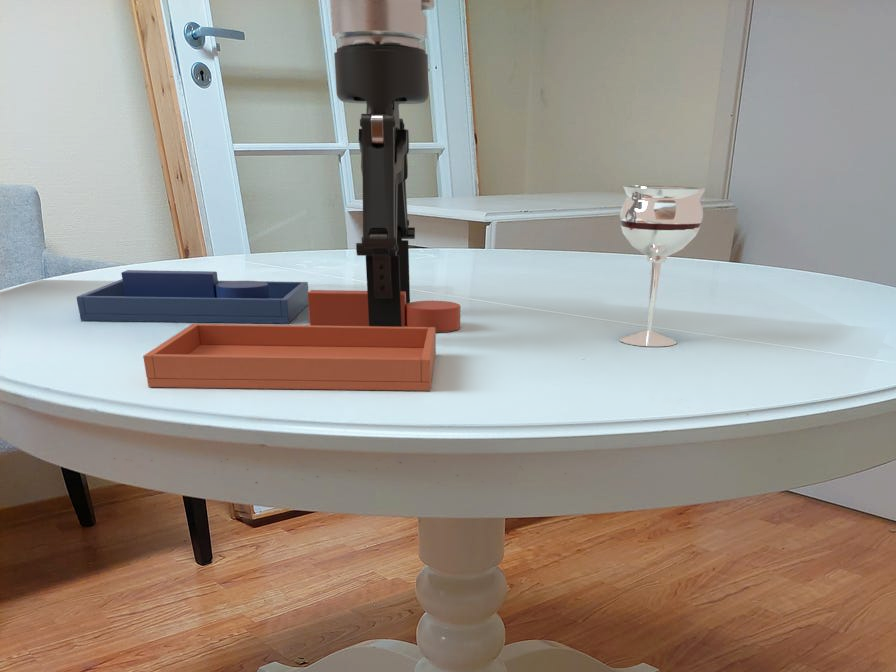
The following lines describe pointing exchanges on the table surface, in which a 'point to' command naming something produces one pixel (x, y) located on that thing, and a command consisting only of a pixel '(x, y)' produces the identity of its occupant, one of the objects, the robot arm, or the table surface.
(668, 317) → the table surface
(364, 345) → the terracotta tray
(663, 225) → the wineglass
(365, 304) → the bar with round end
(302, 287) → the blue tray
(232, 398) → the table surface
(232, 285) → the blue block
